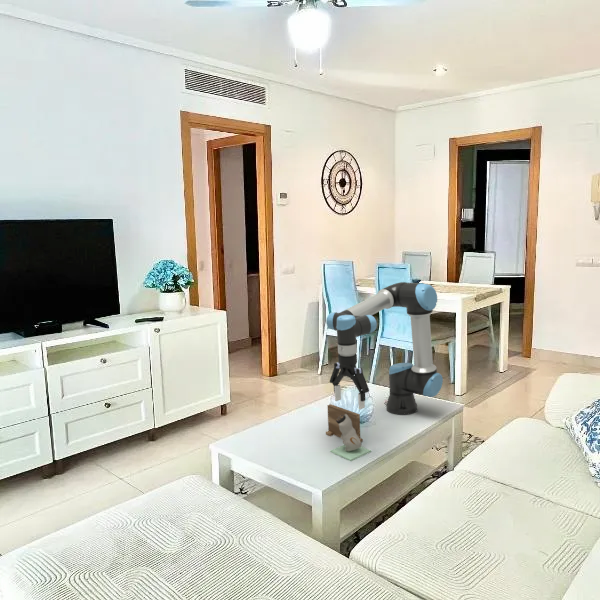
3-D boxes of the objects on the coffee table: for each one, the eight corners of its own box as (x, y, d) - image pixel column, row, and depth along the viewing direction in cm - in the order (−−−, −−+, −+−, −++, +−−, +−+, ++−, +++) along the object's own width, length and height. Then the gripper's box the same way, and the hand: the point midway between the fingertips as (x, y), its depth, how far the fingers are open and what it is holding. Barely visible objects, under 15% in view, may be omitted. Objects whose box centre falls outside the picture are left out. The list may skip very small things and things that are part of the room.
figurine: (345, 443, 230) (344, 409, 228) (365, 449, 224) (364, 414, 221) (333, 450, 223) (332, 416, 221) (353, 456, 217) (352, 421, 215)
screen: (334, 430, 246) (333, 403, 244) (363, 441, 232) (362, 413, 230) (325, 434, 242) (324, 406, 240) (353, 446, 229) (353, 416, 227)
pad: (350, 443, 231) (350, 441, 231) (371, 451, 222) (371, 450, 222) (330, 451, 224) (330, 450, 224) (350, 461, 215) (350, 459, 215)
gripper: (319, 350, 224) (322, 399, 227) (363, 361, 205) (365, 414, 208) (332, 347, 228) (335, 394, 232) (376, 357, 209) (378, 409, 213)
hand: (349, 404), depth 220 cm, fingers open, 13 cm apart
